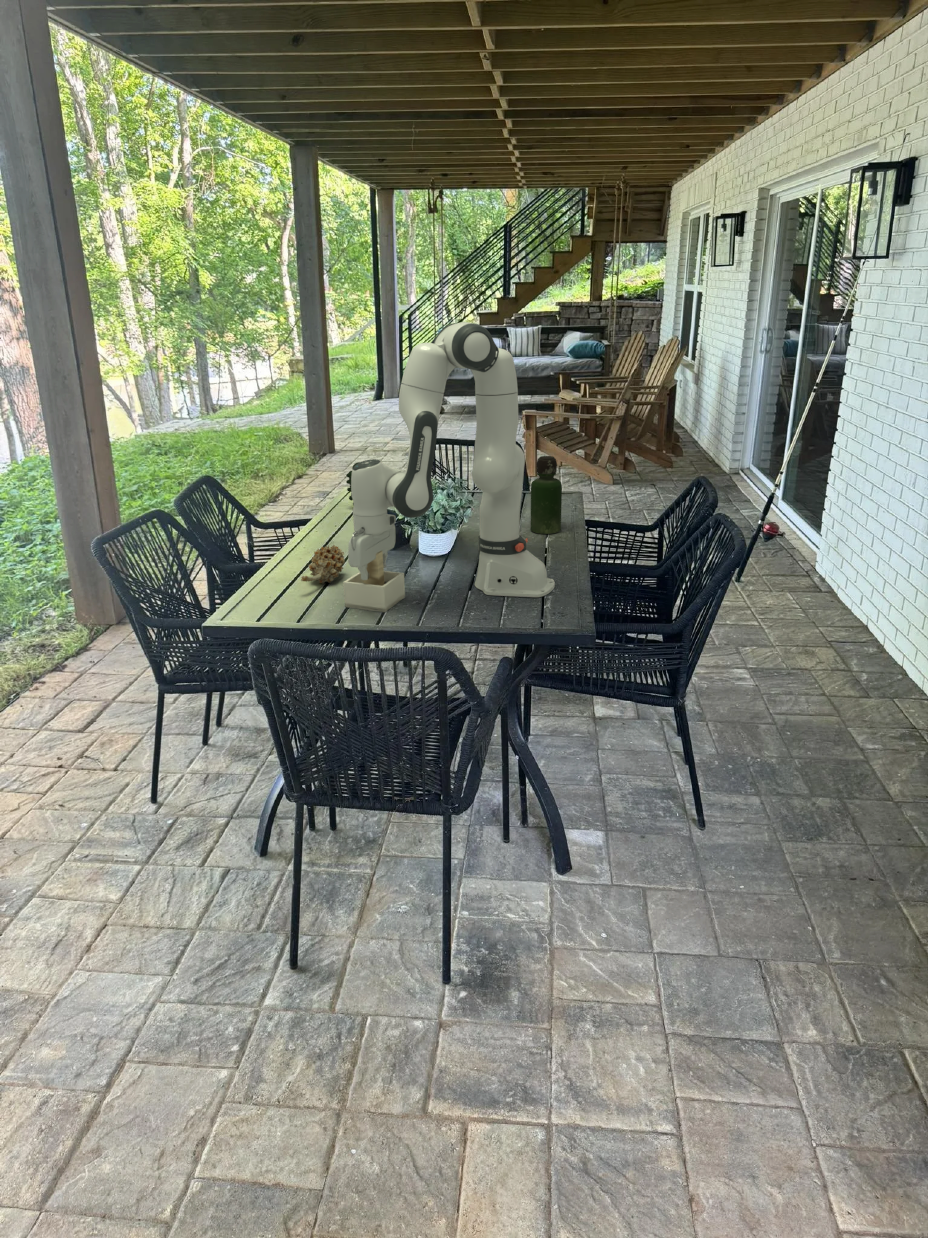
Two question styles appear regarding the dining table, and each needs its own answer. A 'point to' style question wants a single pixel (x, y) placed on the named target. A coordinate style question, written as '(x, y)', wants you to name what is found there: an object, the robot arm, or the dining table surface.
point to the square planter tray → (374, 592)
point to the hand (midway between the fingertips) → (373, 573)
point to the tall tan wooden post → (376, 570)
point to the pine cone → (326, 564)
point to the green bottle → (546, 498)
